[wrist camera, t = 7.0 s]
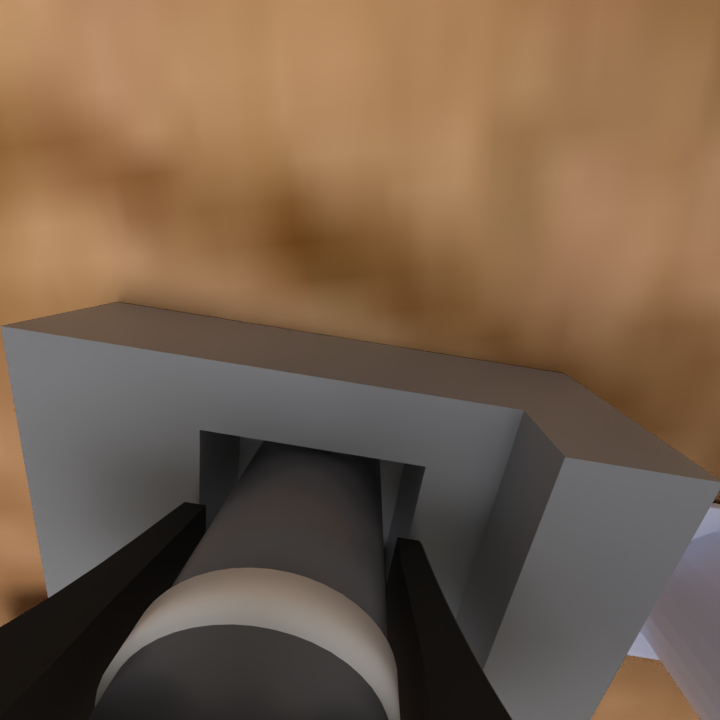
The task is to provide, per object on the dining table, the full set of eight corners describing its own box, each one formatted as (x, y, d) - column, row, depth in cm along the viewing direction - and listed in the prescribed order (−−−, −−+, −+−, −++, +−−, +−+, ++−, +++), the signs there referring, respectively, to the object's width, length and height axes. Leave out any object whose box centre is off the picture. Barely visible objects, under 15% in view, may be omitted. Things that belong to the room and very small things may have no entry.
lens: (393, 415, 12) (430, 671, 4) (375, 529, 13) (380, 891, 6) (258, 397, 12) (57, 624, 4) (252, 513, 13) (86, 852, 6)
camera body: (565, 373, 12) (724, 483, 7) (490, 585, 15) (553, 783, 10) (116, 302, 12) (-106, 348, 7) (131, 525, 16) (-13, 686, 10)
